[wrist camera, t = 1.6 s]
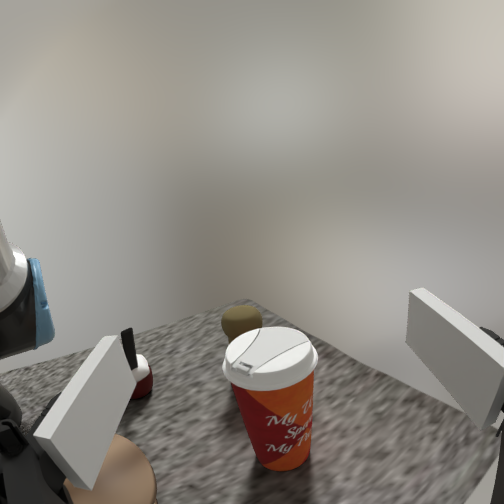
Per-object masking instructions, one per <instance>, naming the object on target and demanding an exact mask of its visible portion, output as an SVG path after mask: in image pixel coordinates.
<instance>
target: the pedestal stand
mask: <svg viewBox="0 0 504 504" xmlns="http://www.w3.org/2000/svg"><path fill="white" fill-rule="evenodd" d="M63 484H64V485H65V486H66V488H67V489H68V491H69V494H70V496H71V499H72V501H73V503H74V504H158V502H157V499H156V493H157V484H156V478H155V474H154V471H153V468H152V466H151V465H150V463H149V461H148V460H147V458H146V456H145V455H144V454H143V452H142V451H141V450H140V449H139V448H138V447H137V446H136V445H135V444H134V443H133V442H131V441H130V440H128V439H126V438H124V437H123V436H120V435H117V434H114V437H113V439H112V442H111V444H110V446H109V449H108V451H107V454H106V456H105V459H104V461H103V464H102V466H101V469H100V471H99V474H98V476H97V479H96V481H95V484H94V486H93V489H92V491H90V490H86V489H81V488H77V487H74V486H73V484H72V483H71V482H70V481H69V480H68V479H67V478H66V479H65V481H64V483H63Z"/></svg>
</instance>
